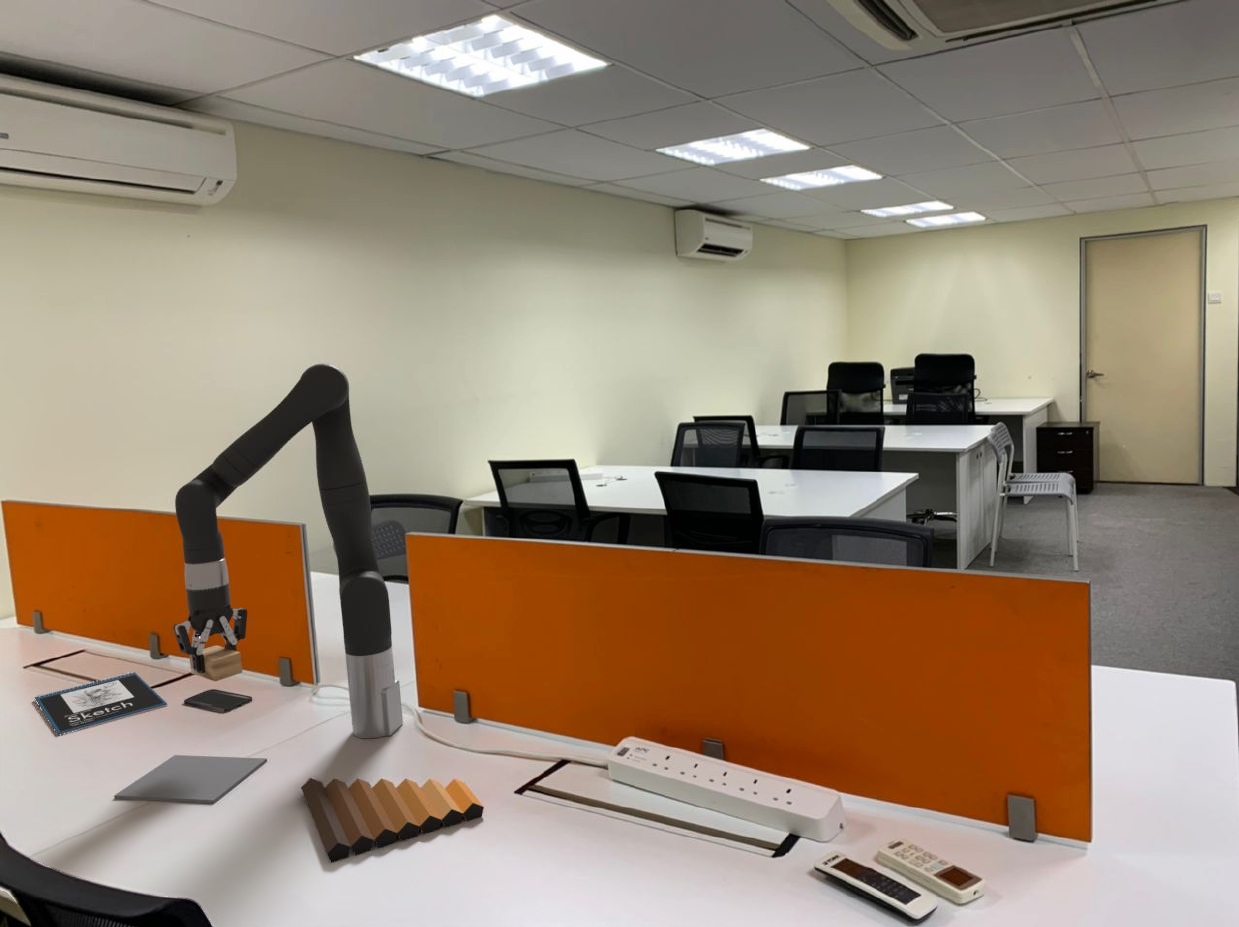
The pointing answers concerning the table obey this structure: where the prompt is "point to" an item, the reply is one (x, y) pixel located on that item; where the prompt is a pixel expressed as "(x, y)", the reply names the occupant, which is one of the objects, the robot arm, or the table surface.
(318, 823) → the ridged wooden panel
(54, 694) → the sketchbook
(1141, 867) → the table surface
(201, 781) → the mat
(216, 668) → the block
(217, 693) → the phone
